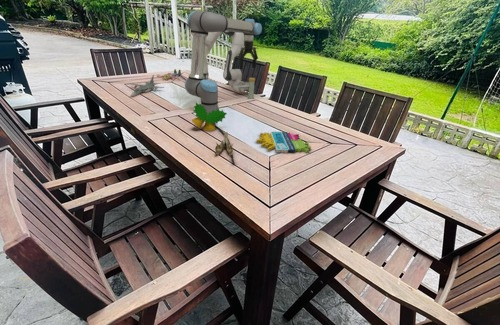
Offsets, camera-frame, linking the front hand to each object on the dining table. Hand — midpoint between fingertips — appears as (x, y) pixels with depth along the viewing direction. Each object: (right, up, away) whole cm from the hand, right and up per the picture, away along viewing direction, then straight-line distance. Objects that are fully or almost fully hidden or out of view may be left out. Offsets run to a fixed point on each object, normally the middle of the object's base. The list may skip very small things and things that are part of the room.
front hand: (247, 68), depth 220 cm
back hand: (+1, -14, +12) cm, 19 cm away
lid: (+4, -7, +4) cm, 9 cm away
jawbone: (-11, -73, -81) cm, 110 cm away
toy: (-83, +13, +63) cm, 105 cm away
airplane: (-90, -16, +10) cm, 92 cm away
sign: (+21, -68, -67) cm, 98 cm away
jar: (+3, -22, +12) cm, 25 cm away
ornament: (-24, -58, -55) cm, 83 cm away
